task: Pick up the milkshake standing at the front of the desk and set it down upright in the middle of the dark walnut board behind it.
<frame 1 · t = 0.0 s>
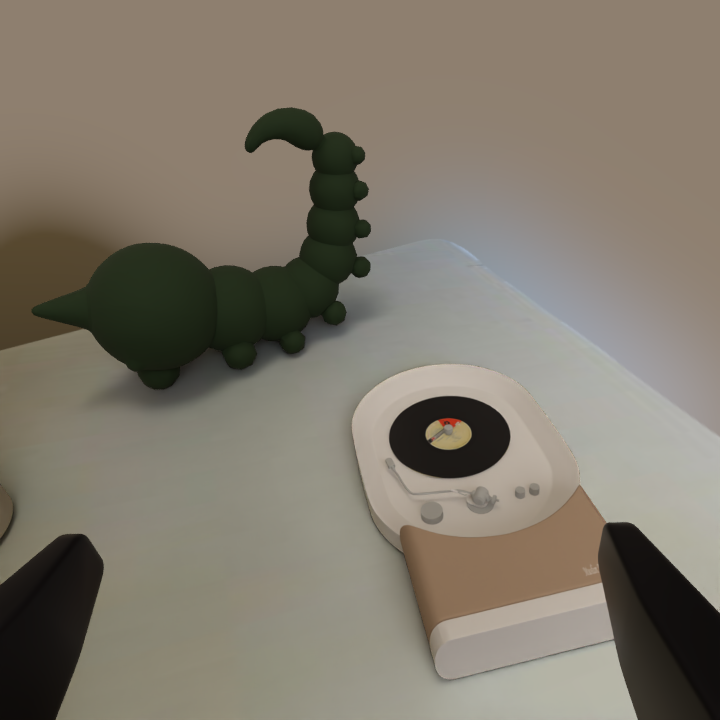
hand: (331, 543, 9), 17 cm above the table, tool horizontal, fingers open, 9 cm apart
toy figurine: (244, 355, 46), on the table
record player: (467, 486, 31), on the table
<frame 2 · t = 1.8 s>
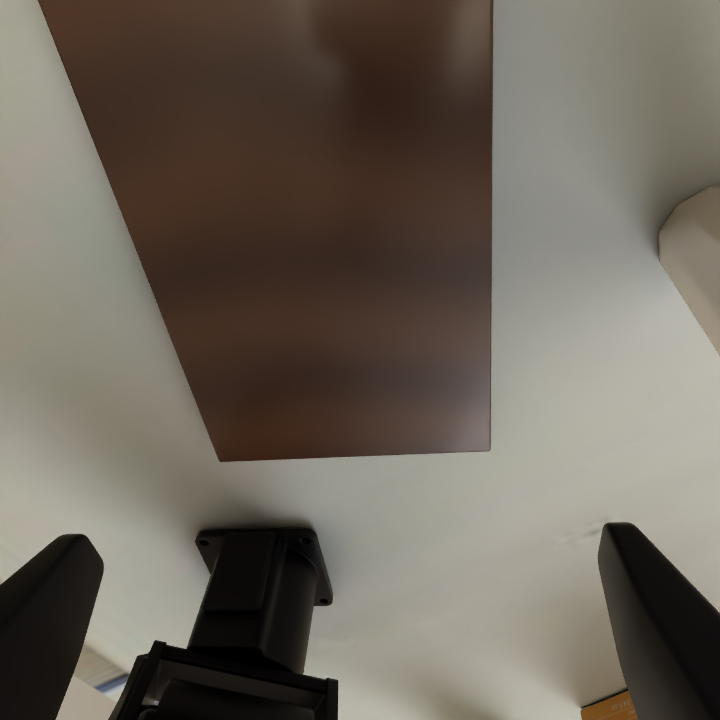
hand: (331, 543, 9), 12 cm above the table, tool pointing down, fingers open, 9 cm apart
milkshake: (706, 219, 18), on the table
walnut board: (316, 257, 19), on the table
small box: (654, 700, 37), on the table
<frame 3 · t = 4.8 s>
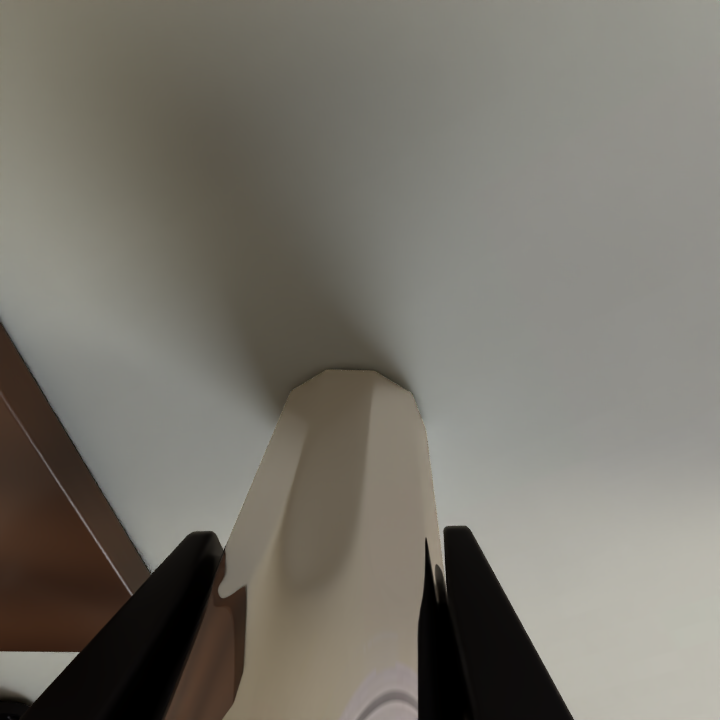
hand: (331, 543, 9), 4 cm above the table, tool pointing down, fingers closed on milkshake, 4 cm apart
milkshake: (348, 403, 12), on the table, touching gripper
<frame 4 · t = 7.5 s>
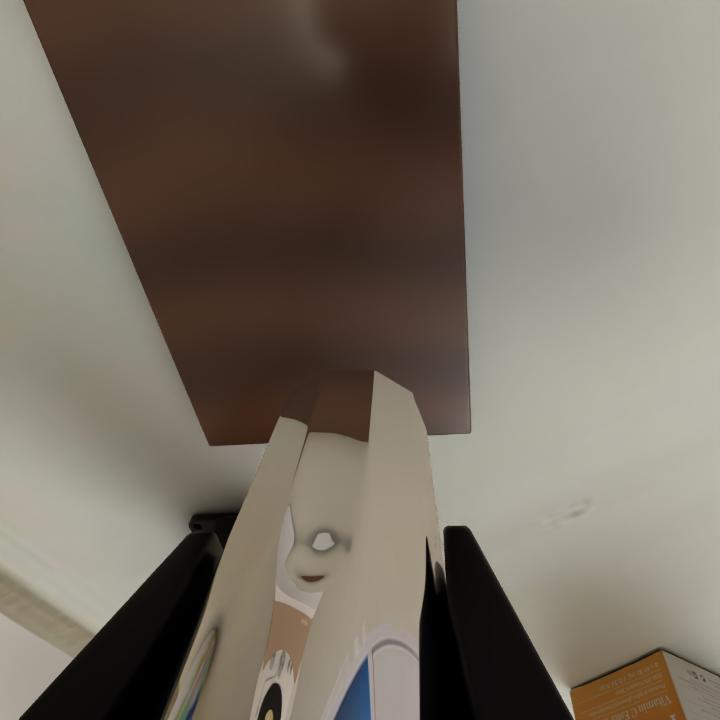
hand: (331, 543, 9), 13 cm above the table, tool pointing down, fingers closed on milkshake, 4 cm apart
milkshake: (348, 403, 12), point 9 cm above the table, touching gripper
walnut board: (297, 245, 20), on the table
small box: (642, 680, 37), on the table
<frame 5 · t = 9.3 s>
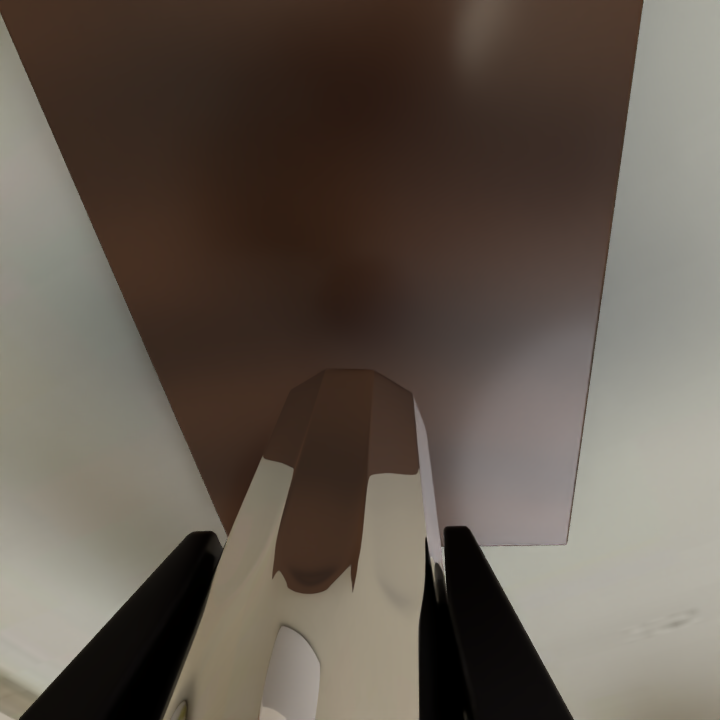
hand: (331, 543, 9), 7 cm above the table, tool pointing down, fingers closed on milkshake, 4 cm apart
milkshake: (347, 403, 12), point 3 cm above the table, touching gripper
walnut board: (362, 319, 15), on the table
when the fingers open (4 cm above the table, at t = 10.5 s): milkshake stays where it is, resting on walnut board.
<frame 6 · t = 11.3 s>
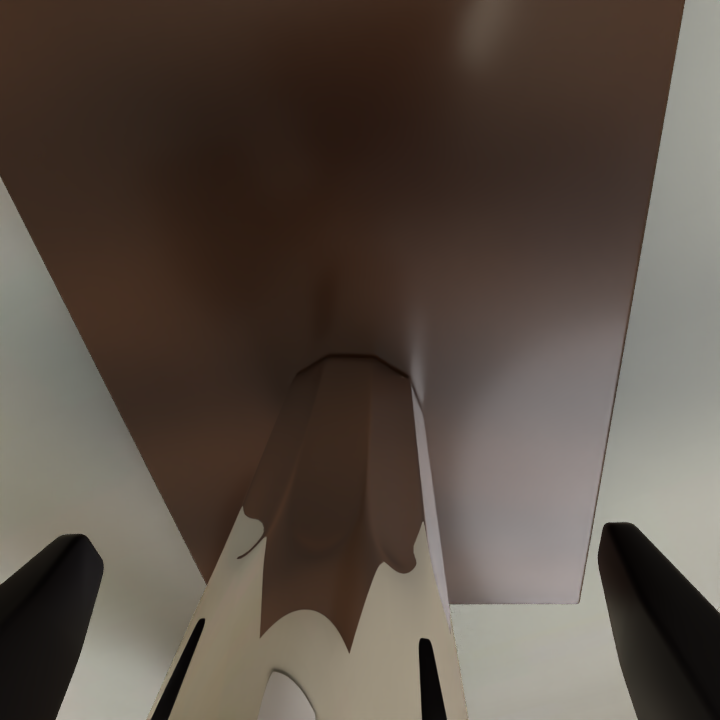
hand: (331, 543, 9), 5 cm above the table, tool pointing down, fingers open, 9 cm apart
milkshake: (348, 390, 13), point 1 cm above the table, touching walnut board
walnut board: (354, 367, 14), on the table
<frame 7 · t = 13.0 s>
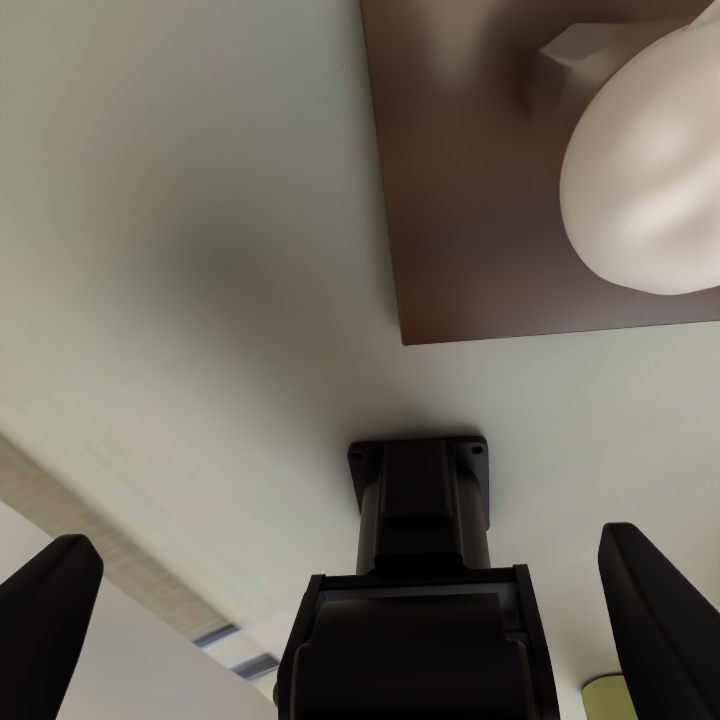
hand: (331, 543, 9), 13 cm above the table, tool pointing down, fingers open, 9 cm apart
milkshake: (577, 69, 16), point 1 cm above the table, touching walnut board
tube: (618, 686, 38), on the table
walnut board: (574, 61, 16), on the table
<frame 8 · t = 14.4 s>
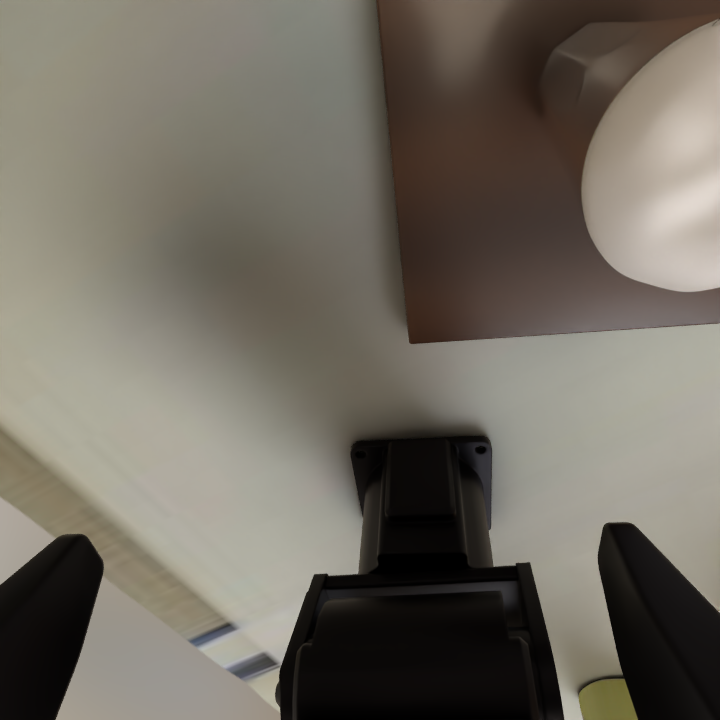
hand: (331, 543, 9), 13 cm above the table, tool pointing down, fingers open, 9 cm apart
milkshake: (590, 69, 16), point 1 cm above the table, touching walnut board
tube: (615, 690, 38), on the table
walnut board: (587, 61, 16), on the table
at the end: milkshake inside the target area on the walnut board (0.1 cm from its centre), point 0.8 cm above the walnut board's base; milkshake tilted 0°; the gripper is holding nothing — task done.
